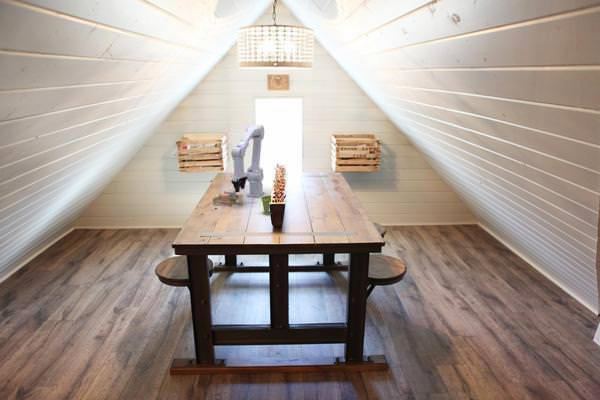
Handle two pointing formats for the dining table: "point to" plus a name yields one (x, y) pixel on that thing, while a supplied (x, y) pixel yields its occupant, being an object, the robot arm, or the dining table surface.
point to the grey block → (233, 193)
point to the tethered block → (228, 198)
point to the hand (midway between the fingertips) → (240, 190)
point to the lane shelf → (224, 203)
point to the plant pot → (266, 203)
